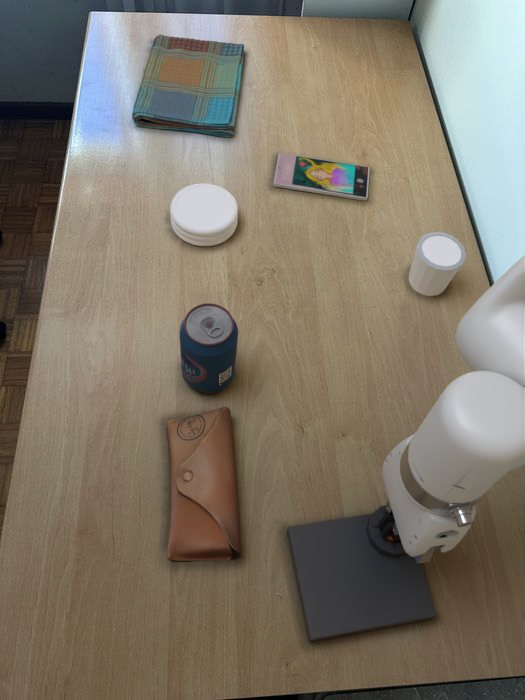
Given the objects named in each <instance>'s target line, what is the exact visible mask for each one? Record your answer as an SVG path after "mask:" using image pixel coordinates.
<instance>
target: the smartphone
mask: <svg viewBox="0 0 525 700" xmlns="http://www.w3.org/2000/svg"><path fill="white" fill-rule="evenodd" d="M369 181H370V167H369V166H366V165H360V164H355V163H354V164H353V163H349V162H348V163H347V162H341V161H335V160H328V159H322V158H316V157H310V156H303V155H297V154H291V153H284V152H278V156H277V161H276V167H275V173H274V178H273V184H272V185H273V187H275V188H282V189H287V190H295V191H301V192H306V193H307V192H308V193H314V194H320V195H325V196H326V195H327V196H332V197H339V198H345V199H351V200H358V201H365V202H366V201H367V200H368V197H369V184H370V183H369Z"/></svg>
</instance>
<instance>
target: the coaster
mask: <svg viewBox="0 0 525 700" xmlns="http://www.w3.org/2000/svg"><path fill="white" fill-rule="evenodd" d="M238 206H239V205H238V202H237V201H236V199H235V197H234V196H233V194H232V193H231V192H229V191H228V190H227V189H226V188H224V187H222V186H219V185H216V184H212V183H204V182H203V183H194V184H190V185H187V186H184V187H183V188H181V189H180V190H178V192H176V193H175V194H174V196H173V197H172V200H171V202H170V205H169V213H170V215H169V216H170V226H171V228H172V230H173V232H174V234H176V236H177V237H178V238H179V239H180V240H182V241H184V242H185V243H188V244H190V245H194V246H199V247H212V246H216V245H220V244H222V243H224V242H226V241H227V240H228V239H230V237H232V236H233V234H234V233H235V231H236V230H237V226H238V217H239V207H238Z"/></svg>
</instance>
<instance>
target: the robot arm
mask: <svg viewBox="0 0 525 700" xmlns="http://www.w3.org/2000/svg"><path fill="white" fill-rule="evenodd" d="M454 344H455V347H456V350H457V352H458V354H459V355H460V357H461V359H463V361H464V362H465V363H466V364H467V366H468V367H469V368H470V369H471V370H472V371H471V372H466V373H464V374H462V375H459V376H457V378H455V379H453V380H452V381H451V382H450V383H449V384H448V385H447V386H446V387H445V389H444V390H443V391H442V393H441V394H440V396H439V397H438V398H437V400H436V401H435V402H434V404H433V405H432V407H431V409H430V410H429V412H428V413H427V415H426V417H425V418H424V419H423V421H422V422H421V423H420V425H419V427H418V428H417V430H416V431H415V433H413V434H411V435H409V436H408V437H406V438H405V439H403V440H402V441H400V442H399V443H398V444H396V445H395V446H394V448H392V450H391V451H390V452H388V454H387V456H386V457H385V459H384V461H383V464H382V467H381V474H382V478H383V479H382V480H383V483H384V487H385V490H386V494H387V501H386V503H385V504H386V507H387V512H386V513H385V515H384V516H383V518H382V519H381V520H380V522H379V523H378V525H379V528H381V530H382V532H381V536H382V538H385V537H391V536H392V540H393V541H396V540H401V542H402V545H403V548H404V550H405V552H406V553H407V554H408V555H410V556H412V557H414V558H415V560H416V562H417V564H421V565H422V564H425V563H430V562H431V560H432V558H433V555H434V553H435V551H436V548H437V547H439V549H440V553H443V554H444V553H447V552H449V551H452V550H453V549H454V548H455V547H456V546H457V545H458V544H460V542H461V541H462V540H463V538H464V537H465V536H466V534H467V533H468V531H469V530H470V528H471V526H472V525H473V523H474V520H475V517H476V515H477V504H478V502H479V500H480V499H481V498H482V496H484V495H485V494H486V492H488V491H489V490H490V489H491V488H492V487H493V486H494V485H495V484H496V483H497V482H498V481H500V480H501V479H502V478H503V477H504V476H505V475H506V474H507V473H508V472H509V471H511V470H514V469H516V468H519V467H522V466H524V465H525V254H524V255H522V256H521V257H520V258H519V259H518V260H517V261H516V262H514V264H512V265H511V266H510V268H508V269H507V271H505V272H504V273H503V275H501V276H500V277H499V278H498V279H497V280H496V281H495V282H494V283H493V284H492V285H491V286H490V287H489V288H488V289H487V290H486V291H485V292H484V293H483V294H482V295H481V296H480V297H479V298H478V299H477V301H476V302H474V304H472V306H471V307H470V308H469V309H468V310H467V312H466V313H465V314H464V315H463V317H462V318H461V320H460V321H459V323H458V325H457V327H456V330H455V335H454Z"/></svg>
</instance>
